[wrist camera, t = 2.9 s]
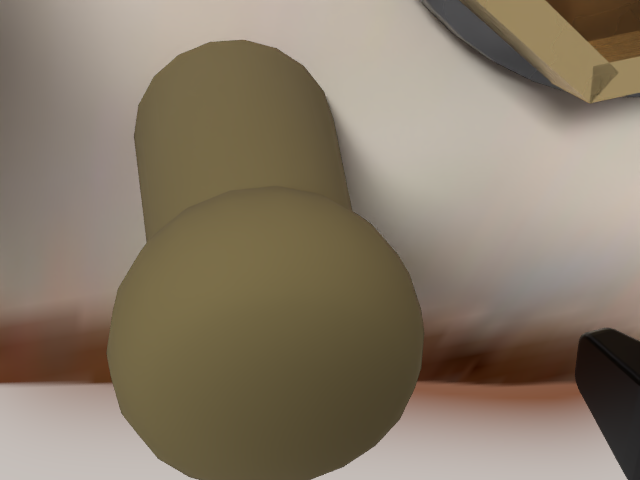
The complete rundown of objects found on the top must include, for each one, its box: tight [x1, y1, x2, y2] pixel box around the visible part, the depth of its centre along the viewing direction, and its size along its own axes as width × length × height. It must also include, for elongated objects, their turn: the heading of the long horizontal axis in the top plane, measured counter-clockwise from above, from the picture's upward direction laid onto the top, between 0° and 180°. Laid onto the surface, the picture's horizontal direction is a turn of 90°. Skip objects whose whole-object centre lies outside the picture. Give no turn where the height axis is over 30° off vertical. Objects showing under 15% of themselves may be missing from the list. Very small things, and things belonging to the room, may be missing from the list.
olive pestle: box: [107, 40, 424, 480], centre depth 13 cm, size 6×6×11 cm
